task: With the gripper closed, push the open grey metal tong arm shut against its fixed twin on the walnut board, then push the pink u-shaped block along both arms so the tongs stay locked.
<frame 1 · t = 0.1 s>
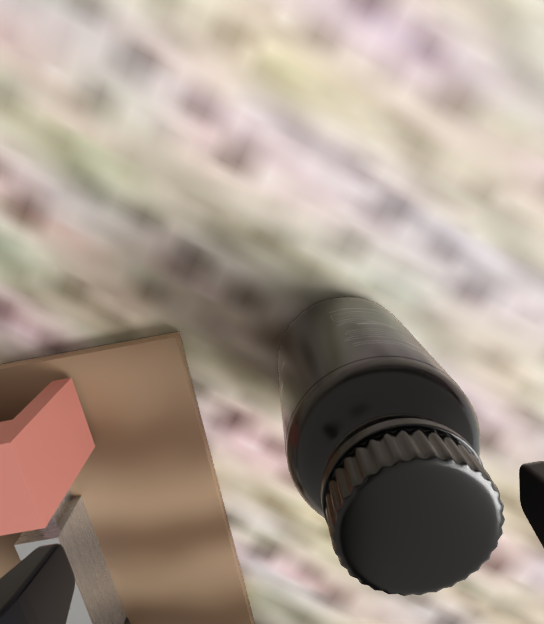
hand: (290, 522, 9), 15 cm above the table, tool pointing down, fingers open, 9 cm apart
board: (38, 532, 26), on the table
tongs fixed: (8, 441, 24), resting on board
supplement bottle: (341, 355, 24), on the table
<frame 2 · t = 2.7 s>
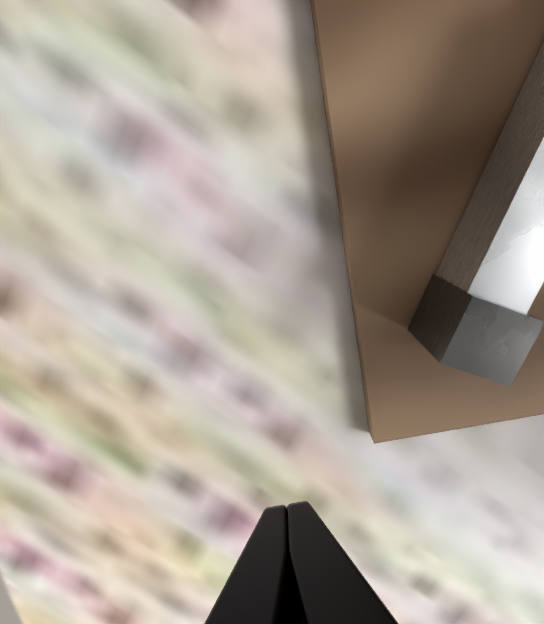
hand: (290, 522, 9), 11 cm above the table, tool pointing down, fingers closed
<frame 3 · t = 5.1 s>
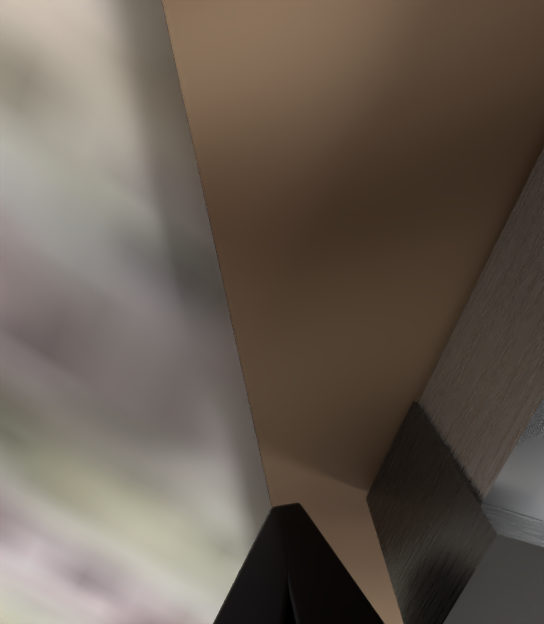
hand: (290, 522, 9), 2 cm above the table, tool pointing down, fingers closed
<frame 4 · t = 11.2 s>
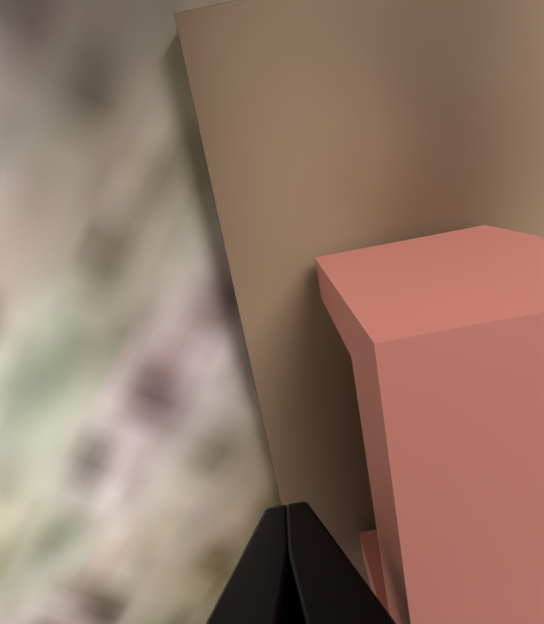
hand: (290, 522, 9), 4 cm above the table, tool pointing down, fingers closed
pink u-shaped block: (465, 482, 9), point 4 cm above the table, slide at 1.0 cm, touching gripper
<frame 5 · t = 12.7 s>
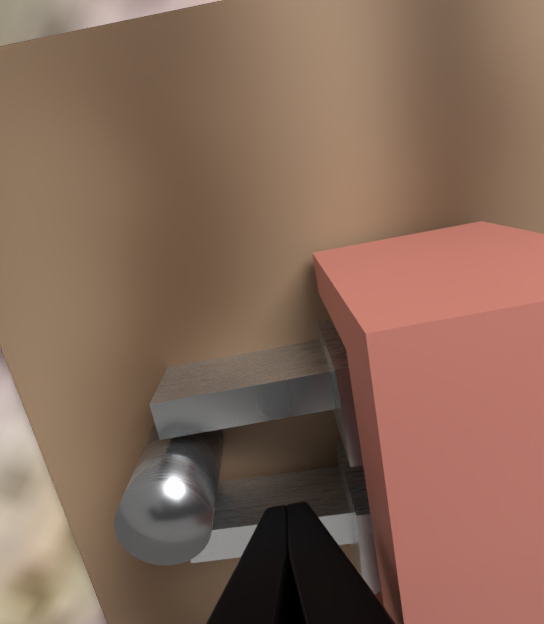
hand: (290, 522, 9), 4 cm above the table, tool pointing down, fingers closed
board: (417, 415, 13), on the table
tongs fixed: (187, 439, 12), resting on board
pink u-shaped block: (459, 474, 9), point 4 cm above the table, slide at 7.1 cm, touching gripper
tongs jaw: (503, 497, 11), point 3 cm above the table, hinge at -3.0°
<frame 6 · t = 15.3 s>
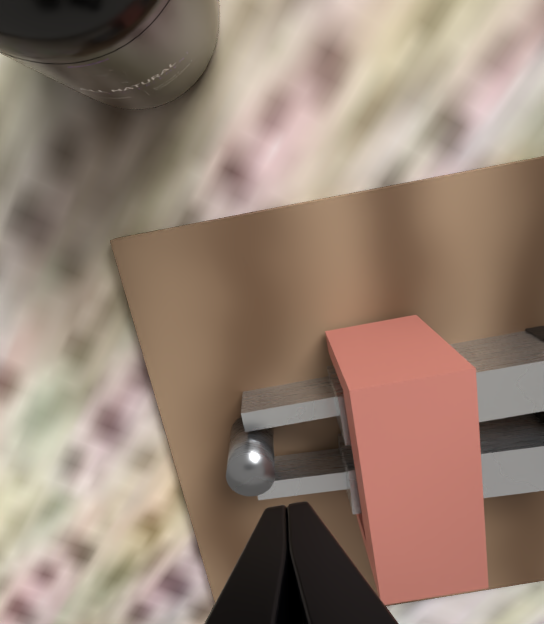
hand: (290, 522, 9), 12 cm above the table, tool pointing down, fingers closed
board: (385, 418, 22), on the table
tongs fixed: (252, 432, 21), resting on board
pink u-shaped block: (400, 449, 18), point 4 cm above the table, slide at 7.1 cm
supplement bottle: (135, 16, 17), on the table
tongs jaw: (429, 463, 20), point 3 cm above the table, hinge at -3.0°
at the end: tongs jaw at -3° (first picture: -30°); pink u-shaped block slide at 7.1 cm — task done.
